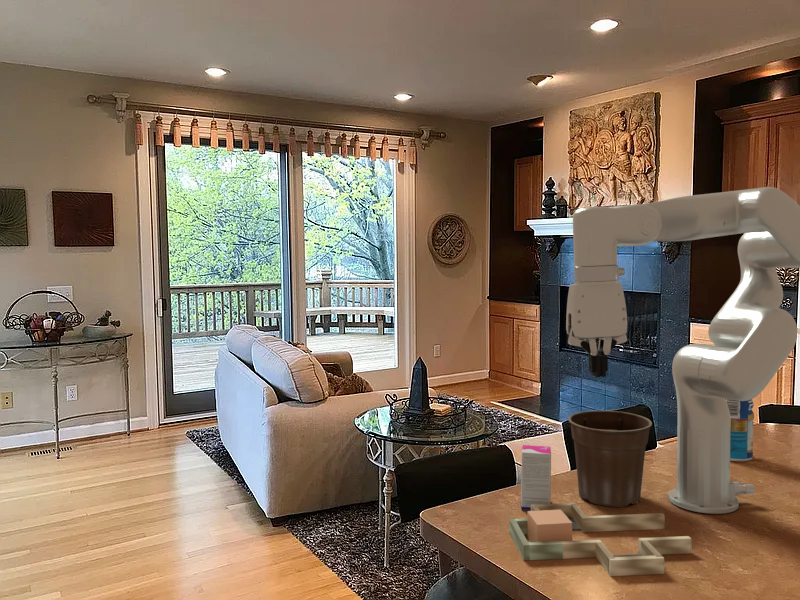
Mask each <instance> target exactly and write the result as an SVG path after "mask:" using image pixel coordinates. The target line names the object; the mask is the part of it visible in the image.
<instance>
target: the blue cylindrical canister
mask: <svg viewBox="0 0 800 600" xmlns="http://www.w3.org/2000/svg"><path fill="white" fill-rule="evenodd" d="M725 400H726V402H727V405H728V408H729V412H730V418H731V428H730V462H749V461H751V460H753V458H754V451H753V450H754V419H755V413H754V411H753V408H754V406H755V405H754V400H753V399H751V400H748V401H736V400H731V399H726V398H725Z"/></svg>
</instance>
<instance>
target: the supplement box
mask: <svg viewBox="0 0 800 600" xmlns="http://www.w3.org/2000/svg"><path fill="white" fill-rule="evenodd" d="M520 479H521V481H520V483H521V485H520V510H521V509H523V510H522V511H531V505H534V504H552V502H551V500H552V499H551V498H552V497H551V496H552V493H551V492H552V490H551V489H552V449H551V446H547V445H546V446H545V445H529V444H528V445H527V444H523V445H522V446H521V478H520Z"/></svg>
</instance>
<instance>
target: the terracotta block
mask: <svg viewBox="0 0 800 600" xmlns="http://www.w3.org/2000/svg"><path fill="white" fill-rule="evenodd" d="M526 512H527V514H526V515H527V517H526V518H527V523H528V534H527V541H528V542H554V541H573V530H572V522H571V521H570V520H569V519H568V517H567V516H566V515H565V514H564V513H563V512H562V510H561V509H560V510H541V511H531V510H526Z"/></svg>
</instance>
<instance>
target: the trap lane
mask: <svg viewBox="0 0 800 600" xmlns="http://www.w3.org/2000/svg"><path fill="white" fill-rule="evenodd" d="M560 509H561V510H562V512H563V513H564V514H565V515H566V516H567V517H568V519H569V520H570V521H571V522H572V531H581V532H582V533H593V532H594V533H595V532H597V533H598V532H615V531H617V532H618V531H619V532H620V531H644V530H665V528H666V527H665V524H666V523H665V514H664V513H662V512H661V513H660V512H657V513H655V512H654V513H633V514H610V515H609V514H605V515H602V514H601V515H586V514H585V513H584V512H583V510H582V509H581V508H580V507H579V506H578V504H576V502H566V503H565V502H562V503H551V504H534V505H531V510H530V511H541V510H560ZM508 520H509V524H508V525H509V526H508V527H509V529H508V530H509V535H510V537H511V538H512V540H513V542H514V544H515V547H516V548H517V550H518V551H519V555H520V556H521V558H522V560H523V561H535V560H536V561H539V560H561V559H562V560H563V559H567V560H568V559H582V558H583V559H584V558H585V559H586V558H587V559H588V558H596V559H597V560H598V562H599V563H600V565H601V566H602V567H603V569H605V571H606V572H607V574H608V575H609V576H610V577H620V576H621V577H622V576H643V575H645V576H647V575H664V574H665V557H664V556H663V555H681V554H682V555H683V554H692V538H691V537H690V536H689V535H682V536H661V537H660V536H658V537H655V536H654V537H638V539H637V541H638V542H637V543H638V546H637V548H638V549H637V550H638V551H637V552H638V553H636V554H615V555H614V554H613V553H612V552H611V551H610V550H609V549H608V548H607V546H606V545H605V544H604V543H603V542H602V541H601V540H600V539H584V540H583V539H582V540H572V541H554V542H530V541H528V539H527V538H526V536H525V535H528V523H527V517H525V518H524V517H523V518H509V519H508Z"/></svg>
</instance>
